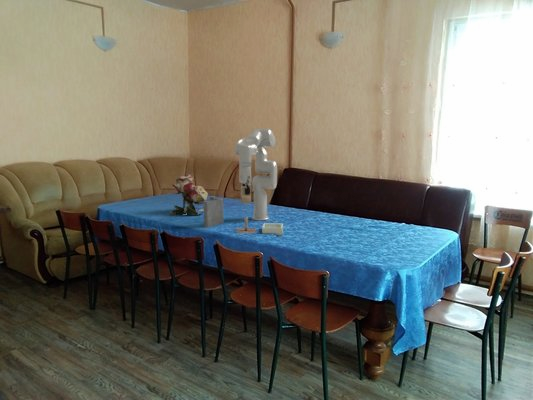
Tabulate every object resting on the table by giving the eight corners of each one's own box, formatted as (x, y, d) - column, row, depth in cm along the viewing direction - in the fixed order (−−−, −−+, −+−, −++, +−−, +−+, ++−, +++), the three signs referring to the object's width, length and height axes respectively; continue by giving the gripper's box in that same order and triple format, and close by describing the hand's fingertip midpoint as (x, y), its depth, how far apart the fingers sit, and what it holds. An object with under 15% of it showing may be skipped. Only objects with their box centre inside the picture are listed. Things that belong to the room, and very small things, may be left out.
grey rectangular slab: (206, 227, 291) (205, 198, 287) (202, 226, 293) (201, 197, 290) (224, 223, 302) (223, 195, 298) (220, 222, 305) (219, 194, 301)
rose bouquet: (206, 216, 327) (205, 176, 322) (167, 216, 327) (166, 176, 322) (211, 209, 352) (210, 172, 347) (175, 209, 353) (173, 172, 347)
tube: (240, 202, 275) (240, 186, 273) (248, 201, 277) (247, 186, 275) (243, 203, 270) (243, 187, 269) (251, 202, 273) (250, 187, 271)
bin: (264, 230, 282) (264, 223, 281) (282, 231, 281) (282, 223, 280) (262, 235, 270) (262, 227, 269) (281, 235, 269) (281, 228, 268)
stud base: (238, 230, 283) (238, 214, 281) (256, 230, 282) (256, 214, 280) (235, 234, 271) (235, 218, 270) (254, 235, 270) (254, 218, 269)
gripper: (234, 163, 275) (235, 192, 279) (244, 166, 260) (245, 196, 264) (245, 163, 278) (246, 191, 282) (256, 165, 263) (256, 195, 267)
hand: (245, 193), depth 273 cm, fingers closed on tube, 5 cm apart
